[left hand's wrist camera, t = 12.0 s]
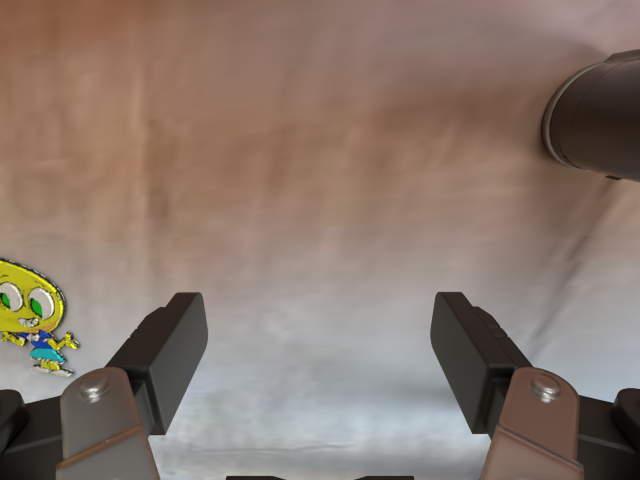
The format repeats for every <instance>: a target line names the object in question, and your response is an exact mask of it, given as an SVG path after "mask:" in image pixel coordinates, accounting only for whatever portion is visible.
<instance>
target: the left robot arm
mask: <svg viewBox="0 0 640 480" xmlns="http://www.w3.org/2000/svg"><path fill="white" fill-rule="evenodd" d="M542 136H543V141H544V145H545V147H546V149H547V151H548V153H549V154H550V156H551V157H552V158H553V159H554V160H556V161H557V162H559V163H560V164H562V165H565V166H567V167H572V168H576V169H583V170H589V171H593V172H597V173H601V174H605V175H609V176H606V177H607V178H611V179H615V180H620V179H627V180H631V181H636V182H640V49H637V50H631V51H626V52H620V53H615V54H612V55H611V56H610V57H609V58H608V59H607V60H606V61H605V62H604V63H599V64H594V65H591V66H588V67H586V68H584V69H582V70H580V71H578V72H577V73H575V74H574V75H572V76H571V77H570V78H569V79H567V80H566V81H565V82H564V83H563V84H562V85H561V86H560V88H559V89H558V90H557V91H556V93H555V94H554V95H553V97H552V99H551V100H550V102H549V104H548V107H547V109H546V112H545V115H544V119H543V125H542ZM430 337H431V344H432V347H433V350H434V352H435V354H436V356H437V359H438V361H439V363H440V365H441V367H442V369H443V372H444V374H445V376H446V378H447V380H448V382H449V384H450V387H451V389H452V391H453V393H454V395H455V397H456V400H457V402H458V404H459V406H460V408H461V410H462V413H463V415H464V417H465V419H466V421H467V423H468V426H469V428H470V430H471V432H472V434H488V435H489V437H490V439H491V444H490V448H489V451H488V454H487V457H486V461H485V464H484V467H483V470H482V473H481V477H480V480H640V389H635V388H627V389H623V390H621V391H619V392H618V394H617V397H616V399H615V401H614V403H611V402H607V401H602V400H598V399H594V398H589V397H585V396H581V395H578V393H577V392H576V390H575V389H574V388H573V387H572V386H571V385H570V384H569V383H568V382H567V381H565V380H564V379H563V378H561V377H559V376H558V375H556V374H554V373H552V372H549V371H547V370H544V369H540V368H535V367H533V366H532V365H531V363H530V362H529V361H528V360H527V358H526V357H525V356H524V355H523V353H522V352H521V351H520V350H519V349H518V347H517V346H516V345H515V344H514V342H513V341H512V340H511V339H510V338H509V337H507V334H506V333H505V331H504V330H503V329H502V328H500V325H499V324H498V323H497V322H496V320H495V319H494V318H493V317H492V315H490V314H489V313H487V312H486V311H484V310H482V309H481V308H479V307H473V306H472V305H471V304H470V302H469V301H468V300H467V298H466V297H465V296H464V294H463V293H462V292H438V293H437V294H436V297H435V303H434V310H433V316H432V323H431V331H430ZM207 341H208V329H207V322H206V315H205V308H204V302H203V297H202V294H201V293H199V292H178V293H176V294H175V295H174V296H173V298H172V299H171V300H170V302H169V303H168V304H167V306H166V307H159V308H158V309H156V310H155V311H153V312H152V313H150V314H149V315H147V316H146V317H145V318H144V320H143V321H142V322H141V323H140V324H139V326H138V328H137V329H135V331H134V332H133V333H132V334H131V335H130V338H128V339H127V340H126V342H125V343H124V344H123V345H122V346H121V348H120V349H119V350H118V351H117V352H116V354H115V355H114V356H113V357H112V359H111V360H110V361H109V362H108V363H107V365H106V366H105V367H104V368H100V369H96V370H93V371H91V372H88V373H86V374H84V375H82V376H81V377H79V378H77V379H76V380H75V381H73V382H72V383H71V384H70V385H69V386H68V387H67V388H66V389H65V390H64V392H63V393H62V395H61V396H57V397H53V398H49V399H44V400H40V401H36V402H31V403H27V404H25V403H24V401H23V399H22V396H21V394H20V393H19V392H18V391H16V390H9V389H6V390H0V480H160V477H159V473H158V470H157V467H156V464H155V461H154V457H153V454H152V451H151V448H150V444H149V441H148V437H149V435H165V434H166V432H167V430H168V428H169V426H170V424H171V422H172V420H173V417H174V415H175V413H176V411H177V409H178V407H179V405H180V402H181V400H182V398H183V396H184V394H185V392H186V390H187V387H188V385H189V383H190V381H191V379H192V377H193V375H194V373H195V370H196V368H197V366H198V364H199V362H200V360H201V358H202V355H203V353H204V351H205V349H206V346H207ZM226 480H285V479H281V478H278V477H274V476H227V477H226ZM355 480H414V477H413V476H366V477H362V478H359V479H355Z"/></svg>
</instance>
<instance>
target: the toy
mask: <svg viewBox="0 0 640 480" xmlns="http://www.w3.org/2000/svg"><path fill="white" fill-rule="evenodd" d="M5 277H6V278H5ZM44 285H45V286H44ZM33 286H34V287H33ZM39 286H40V287H39ZM47 286H48V287H47ZM45 288H46V289H45ZM38 290H39V291H38ZM4 293H5V294H4ZM47 297H48V298H47ZM56 297H57V298H56ZM48 299H49V300H48ZM19 301H20V302H19ZM32 301H33V302H32ZM19 304H20V306H19ZM8 305H9V306H8ZM59 305H60V306H59ZM59 307H60V308H59ZM3 308H4V309H3ZM22 308H23V309H22ZM21 309H22V310H21ZM35 309H36V311H35ZM65 311H66V303H65V299H64V297H63V294H62V293H61V291H60V290H59V288H58V287H57V286H56V285H55V284H54V283H53V282H51V280H50V279H48V278H47V277H45V276H43V275H42V274H40V273H38V272H36V271H35V270H33V269H31V268H28V267H26V266H24V265H20V264H19V263H16V262H13V261H10V260H7V259H3V258H0V331H3V334H4V335H3V336H2V337H1V339H3V340H2V341H7V340H11V341H12V342H13V343H15V344H17V345H18V346H23V345H25V344H26V342H27V339H28V340H29V341H31V343H32V344H33V346H34V347H35V348H34V349H33V350H32V351H31V352H30V356H31V358H30V359H32V358H35V357H36V358H35V360H36V359H38V358H39V359H38V361H39V360H41V364H34V365H33V367H32V369H31V370H33V371H39V372H45V373H49V372H51V371H52V372H51V374H56V375H59V376H67V377H68V376H70V375H71V374H73V373H74V371H72V370H70V369H67V368H62V366H61V364H62V363H64V362H66V361H67V359H66V358H64V356H63V355H62V354H60V352H59V351H57V350H59V349H61V348H62V347H63V346H64V345H67V346H68V347H73V348H74V349H75V348H79V343H77V342H76V341H75V340H74V339H73V335H72V334H71V333H70V332H67V333H66V336H65V337H64V338H63V339H61V340H60V341H58V340H57V339H56V338H55V336H54V335H52V334H51V333H50V332H52V331H54V330H55V329H56V328H57V327H58V326H59V325H60V324H61V322H62V320H63V318H64V315H65ZM37 313H38V314H37ZM47 316H48V317H47ZM58 317H59V319H57V318H58ZM52 320H53V321H52ZM18 321H19V322H18ZM40 324H41V325H40ZM47 324H48V325H47ZM44 327H45V328H44ZM23 328H24V329H23ZM34 328H35V329H34ZM30 329H32V330H30ZM44 330H45V331H44ZM36 331H37V332H36ZM12 332H20V334H21V335H20V336H19V337H18V336H17V335H16V334H14V333H12ZM22 335H23V336H22ZM41 335H42V336H41ZM6 337H7V338H6ZM42 337H43V338H42ZM41 339H42V340H41ZM68 339H69V340H68ZM61 341H63V342H61ZM52 343H53V344H52ZM60 343H61V344H60ZM57 346H58V347H57ZM40 347H41V348H40ZM57 348H58V349H57ZM60 362H61V363H60ZM54 365H55V366H54Z"/></svg>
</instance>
